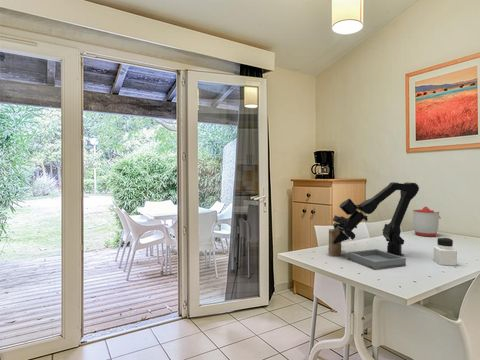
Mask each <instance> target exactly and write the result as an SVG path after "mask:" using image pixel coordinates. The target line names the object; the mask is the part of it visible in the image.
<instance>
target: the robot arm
mask: <svg viewBox="0 0 480 360" xmlns="http://www.w3.org/2000/svg"><path fill="white" fill-rule="evenodd" d="M419 190H420V187H419V185H418V184H417V183H416V182H404V183H400V182H397V181H396V182H393V181H391V182H390V183H389V184H388V185H386V186H385V187H384V188H383V189H381V190H380V191H379V192H378V193H376V194H375V195H374V196H372V197H371V198H368V199H366V200H364V201H362V202H360V203H359V204H355V203H354V202H353V200H352V199H351V198H348V199H346V200H344V201H341V203H340V205H339V208H340V209H341V210H342V212H344V213H345V215H347V216H348V215H349V217H345V216H343V215H341V216H338V215H334V216H333V219H332V222H334V223H333V224H332V227H333V229H339V230H340V234H339V235H338V237H337V238H336V239H335V241H334V242H333V243H334V244H336V243H339V242H341V243H342V242H345V241H348V240H350V239H351V240H354V239H355V238H356V234H355V232H353V230H354V229H358V225H359V224H360V223H361V222H362V221H365V222H368V216H367V215H371V214H373V213H374V212H375V210H377V208H378V206H379V204H381V203H382V202H383V201H384V200H386V199H387V198H388V197H389V196H391V195H392V194H394V193H395V192H396V191H400V193H399V194H400V198H399V201H398V203H397V206H396V208H395V210H394V213H393V216H392V218H391V220H390V222H389V223H388V224H387V223H385V224H384V226H383V229H382V235H383V238H385V241H386V242H387V245H386V246H387V249H386V250H387V251H386V252H387V253H390V254H394V255H397V256H400V257H402V256H405V254H404V253H402V245H404V244H405V239H403V237H401V230H402V229H401V225H402V222H403V220H404V217H405V215H406V212H407V210H408V207H409V205H410V203H411V201H412V200H413V199H414V198H415V197H416V195H417V194H418V192H419ZM365 214H366V215H365Z"/></svg>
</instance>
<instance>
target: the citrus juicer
mask: <svg viewBox="0 0 480 360" xmlns="http://www.w3.org/2000/svg"><path fill="white" fill-rule="evenodd" d="M412 212H413V213H412V215H413V216H412V221H413V222H412V224H413V225H412V226H413V230H414V232H415V233H414V234H415V235H417V236H421V237H436V235H438V230H439V225H440V224H439V223H440V222H439V220H440V219H442V217H441V216H440V211H437V212H436V211H435V210H431V209H430V208H429V207H428V206H424V207H423V208H422V209H412Z"/></svg>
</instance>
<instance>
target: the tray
mask: <svg viewBox="0 0 480 360" xmlns="http://www.w3.org/2000/svg"><path fill="white" fill-rule="evenodd" d="M406 259H407V258H406V257H403V256H397V255H394V254H390V253H387V251H384V250H381V249H377V248H374V249H365V250H363V249H362V250H354V251H353V250H352V251H347V260H348V261H352V262H354V263H356V264H359V265H361V266H363V267H366V268H369V269H372V270H373V271H375V270H383V269H384V270H385V269H392V268H397V267H399V268H400V267H405V266H406V265H407V264H406V262H407V260H406Z"/></svg>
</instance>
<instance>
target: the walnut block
mask: <svg viewBox="0 0 480 360" xmlns="http://www.w3.org/2000/svg"><path fill="white" fill-rule="evenodd" d="M339 234H340V230H339V229H334V228H328V255H330V256H331V257H341V256H342V242H339V243H336V244H334V243H333V242H334V241H335V239H336V238H337V237H338V235H339Z"/></svg>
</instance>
